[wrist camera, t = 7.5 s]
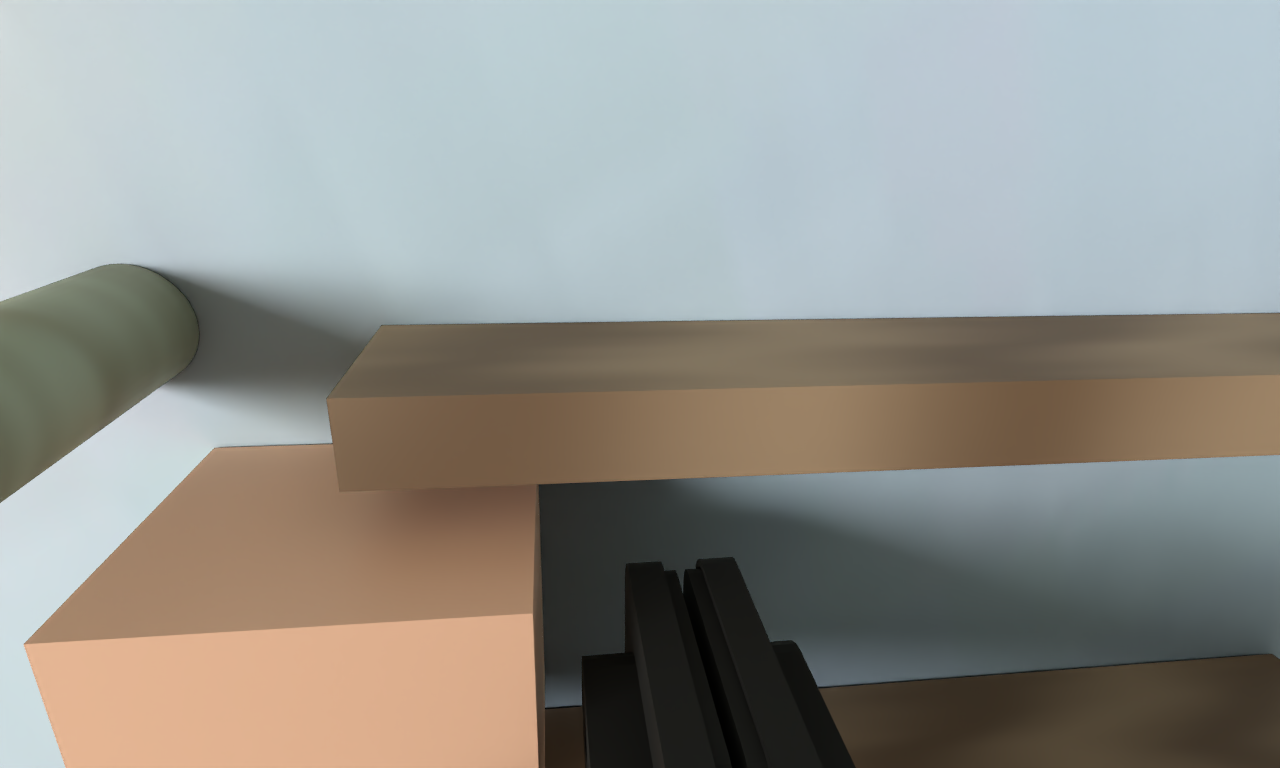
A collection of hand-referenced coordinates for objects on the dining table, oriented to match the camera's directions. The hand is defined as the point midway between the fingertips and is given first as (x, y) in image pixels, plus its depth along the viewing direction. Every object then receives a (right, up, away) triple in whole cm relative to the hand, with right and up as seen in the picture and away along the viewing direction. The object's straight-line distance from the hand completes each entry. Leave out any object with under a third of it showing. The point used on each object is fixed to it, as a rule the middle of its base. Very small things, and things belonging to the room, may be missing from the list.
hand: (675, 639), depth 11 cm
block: (-5, +1, +1) cm, 5 cm away
